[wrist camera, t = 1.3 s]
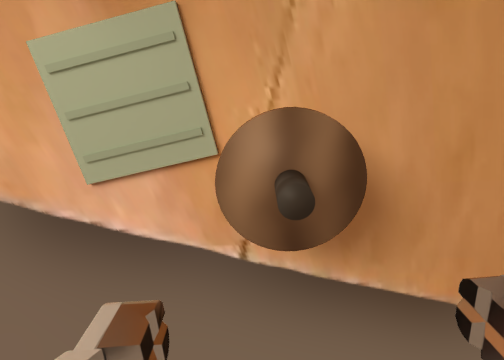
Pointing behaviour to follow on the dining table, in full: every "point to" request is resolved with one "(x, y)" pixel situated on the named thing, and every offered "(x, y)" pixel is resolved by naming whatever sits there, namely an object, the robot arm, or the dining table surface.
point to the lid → (290, 179)
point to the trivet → (126, 93)
